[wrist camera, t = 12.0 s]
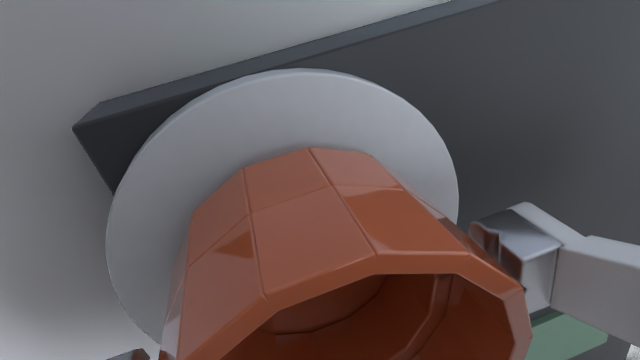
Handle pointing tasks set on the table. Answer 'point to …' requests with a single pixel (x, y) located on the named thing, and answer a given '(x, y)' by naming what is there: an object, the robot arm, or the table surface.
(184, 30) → the table surface
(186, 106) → the scale
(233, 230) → the bowl
